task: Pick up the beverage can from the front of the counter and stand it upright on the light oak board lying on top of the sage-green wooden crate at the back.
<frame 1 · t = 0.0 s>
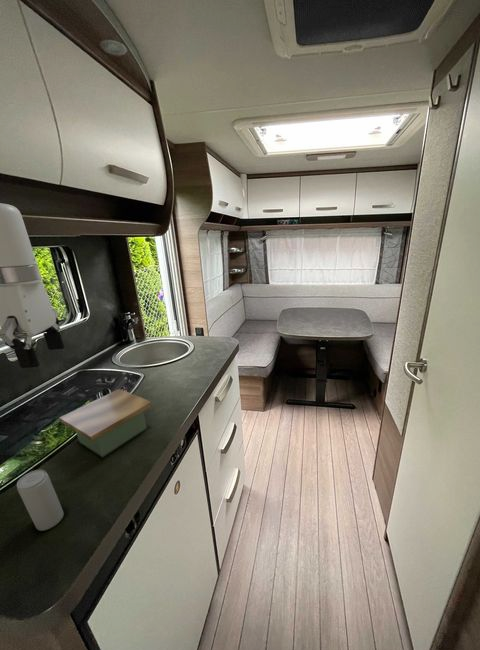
hand: (44, 357, 60), 31 cm above the worktop, tool pointing down, fingers open, 9 cm apart
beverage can: (51, 521, 58), on the worktop
crate: (114, 436, 83), on the worktop
board: (108, 413, 80), resting on crate
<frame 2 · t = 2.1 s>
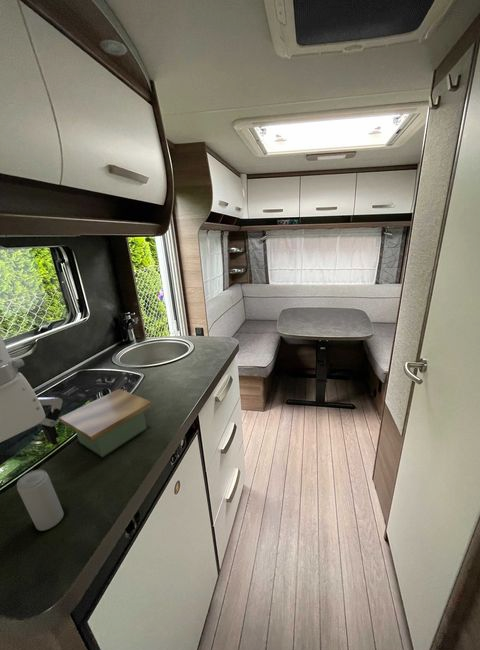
hand: (24, 458, 52), 17 cm above the worktop, tool pointing down, fingers open, 9 cm apart
nothing on the worktop moved.
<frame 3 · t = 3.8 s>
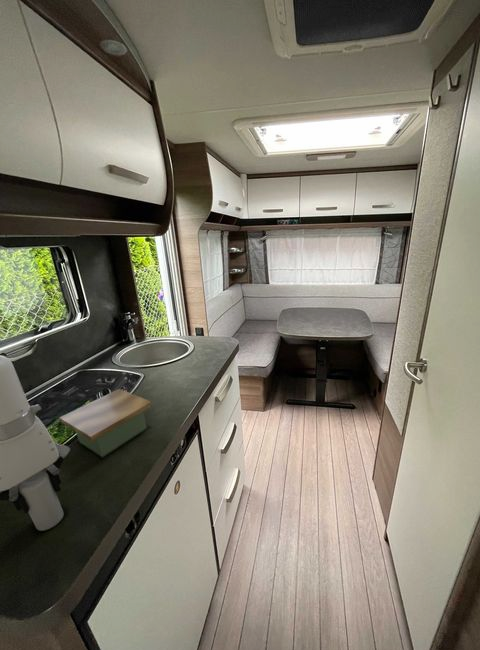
hand: (40, 497, 56), 7 cm above the worktop, tool pointing down, fingers closed on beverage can, 4 cm apart
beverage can: (51, 521, 58), on the worktop, touching gripper
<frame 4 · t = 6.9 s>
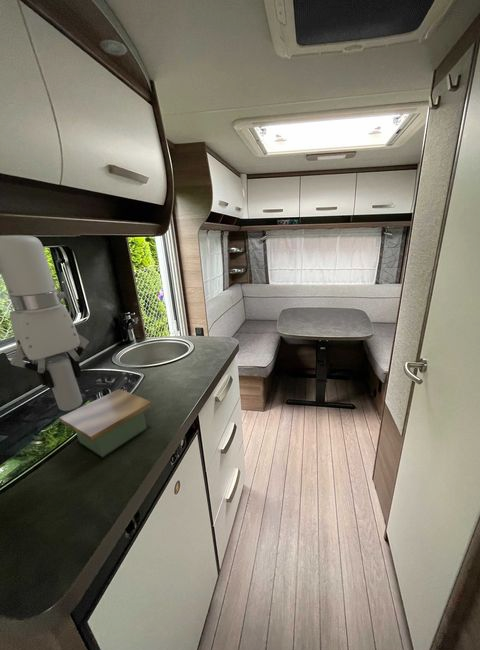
hand: (63, 380, 63), 25 cm above the worktop, tool pointing down, fingers closed on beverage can, 4 cm apart
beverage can: (71, 406, 65), point 18 cm above the worktop, touching gripper
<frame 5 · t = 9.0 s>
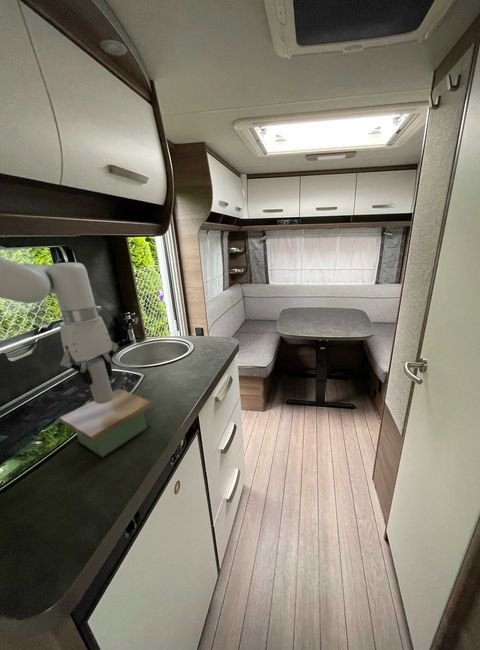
hand: (98, 378, 76), 20 cm above the worktop, tool pointing down, fingers closed on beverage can, 4 cm apart
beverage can: (104, 400, 79), point 13 cm above the worktop, touching gripper
when the fingers open (16 cm above the worktop, at t = 10.3 s): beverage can stays where it is, resting on board.
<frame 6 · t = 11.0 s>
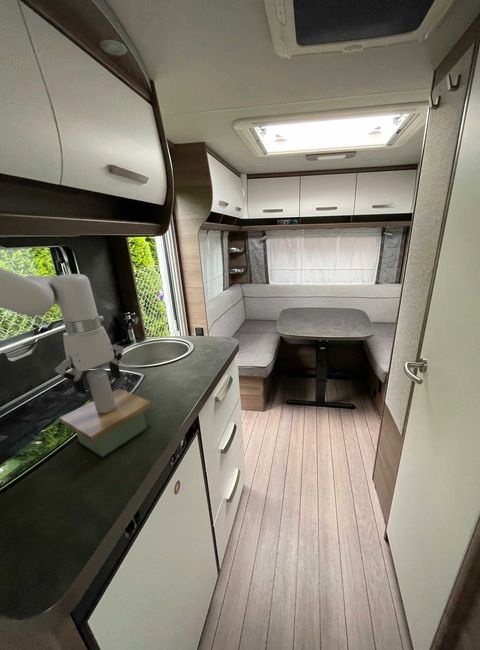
hand: (99, 384, 77), 18 cm above the worktop, tool pointing down, fingers open, 9 cm apart
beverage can: (106, 410, 80), point 9 cm above the worktop, touching board
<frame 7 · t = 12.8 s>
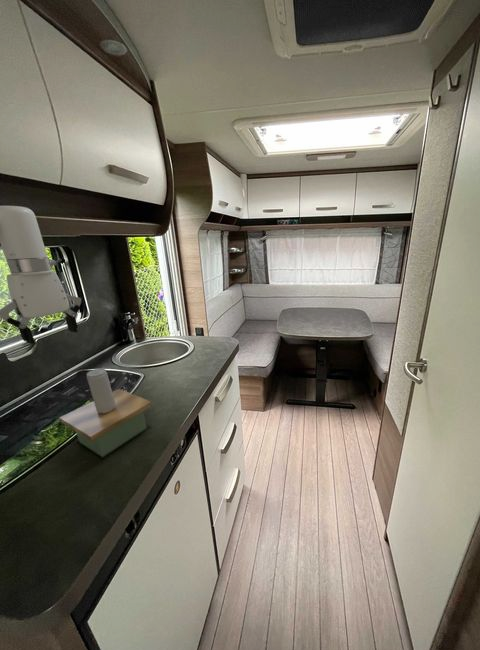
hand: (53, 336, 70), 32 cm above the worktop, tool pointing down, fingers open, 9 cm apart
nothing on the worktop moved.
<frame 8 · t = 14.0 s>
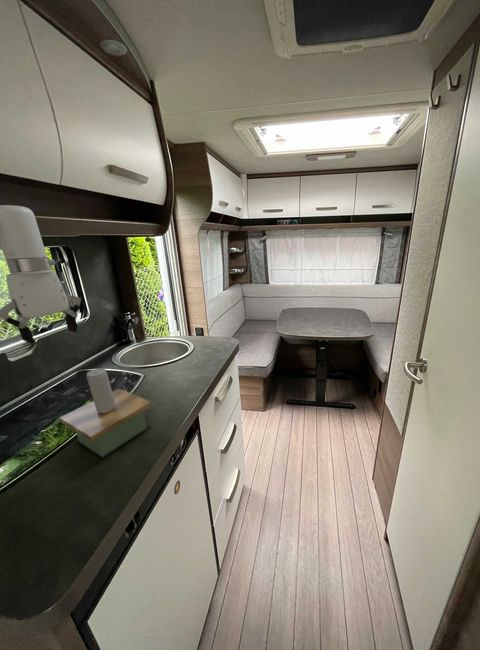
hand: (52, 336, 70), 32 cm above the worktop, tool pointing down, fingers open, 9 cm apart
nothing on the worktop moved.
at the end: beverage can inside the target area on the board (0.1 cm from its centre), point 1.3 cm above the board's base; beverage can tilted 0°; the gripper is holding nothing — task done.
